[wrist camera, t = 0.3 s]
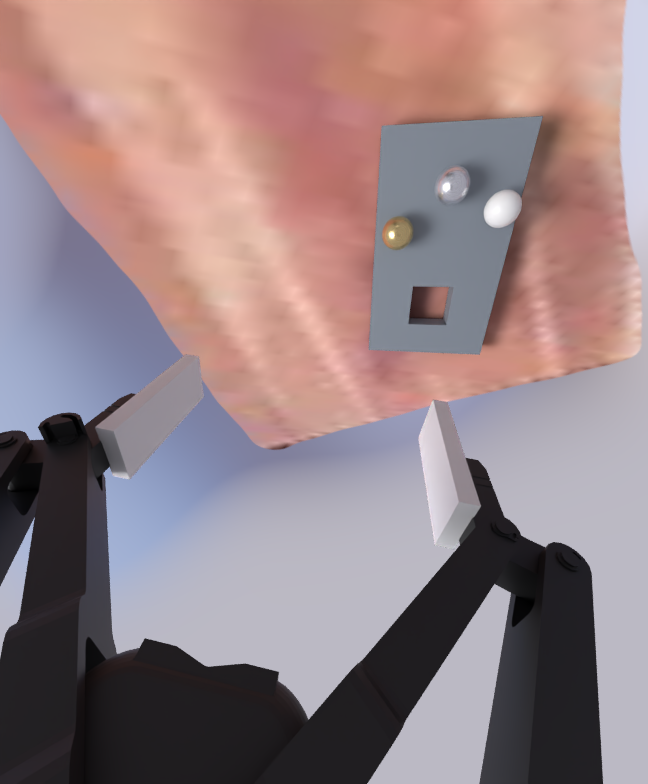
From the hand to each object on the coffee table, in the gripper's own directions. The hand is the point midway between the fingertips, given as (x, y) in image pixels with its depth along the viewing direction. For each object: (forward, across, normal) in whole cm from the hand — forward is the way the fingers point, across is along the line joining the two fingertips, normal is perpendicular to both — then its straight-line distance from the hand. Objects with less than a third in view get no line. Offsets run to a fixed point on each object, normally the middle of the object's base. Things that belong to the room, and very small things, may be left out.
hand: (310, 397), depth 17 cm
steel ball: (+23, +8, +12) cm, 27 cm away
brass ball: (+23, +4, +7) cm, 24 cm away
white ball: (+23, +14, +10) cm, 28 cm away
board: (+27, +9, +5) cm, 29 cm away
